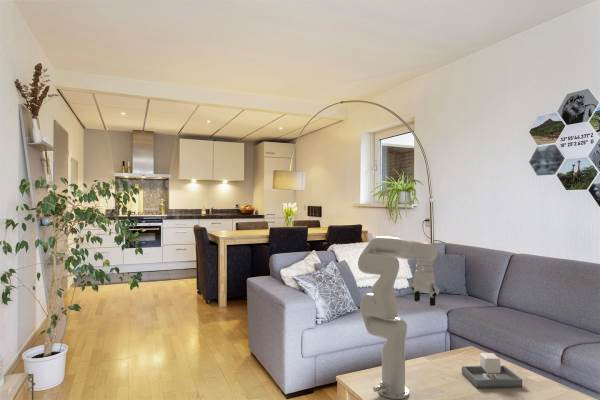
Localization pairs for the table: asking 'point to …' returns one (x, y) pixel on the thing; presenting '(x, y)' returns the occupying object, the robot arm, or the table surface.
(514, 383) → the parts tray
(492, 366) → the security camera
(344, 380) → the table surface
